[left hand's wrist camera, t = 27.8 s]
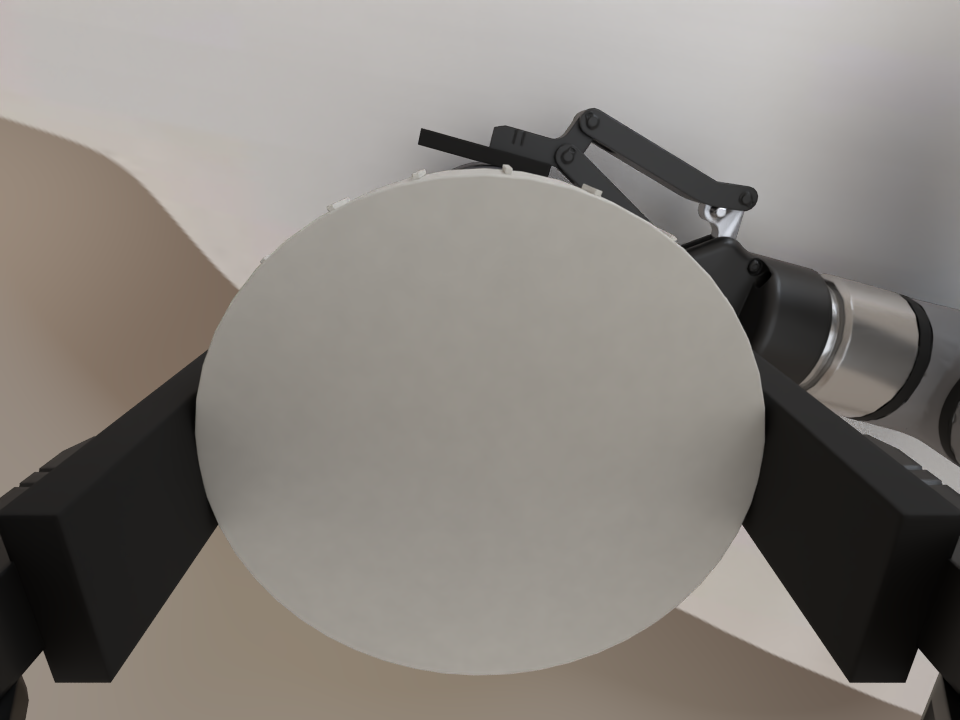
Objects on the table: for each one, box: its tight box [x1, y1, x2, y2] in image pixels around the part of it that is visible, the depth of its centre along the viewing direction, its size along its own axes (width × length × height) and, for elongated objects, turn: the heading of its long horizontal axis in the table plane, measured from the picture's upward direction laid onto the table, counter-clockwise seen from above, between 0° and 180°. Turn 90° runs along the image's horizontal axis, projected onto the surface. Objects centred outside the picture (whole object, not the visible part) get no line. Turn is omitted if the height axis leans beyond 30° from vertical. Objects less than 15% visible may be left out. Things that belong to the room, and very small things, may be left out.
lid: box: [195, 164, 765, 675], centre depth 11 cm, size 10×10×2 cm
